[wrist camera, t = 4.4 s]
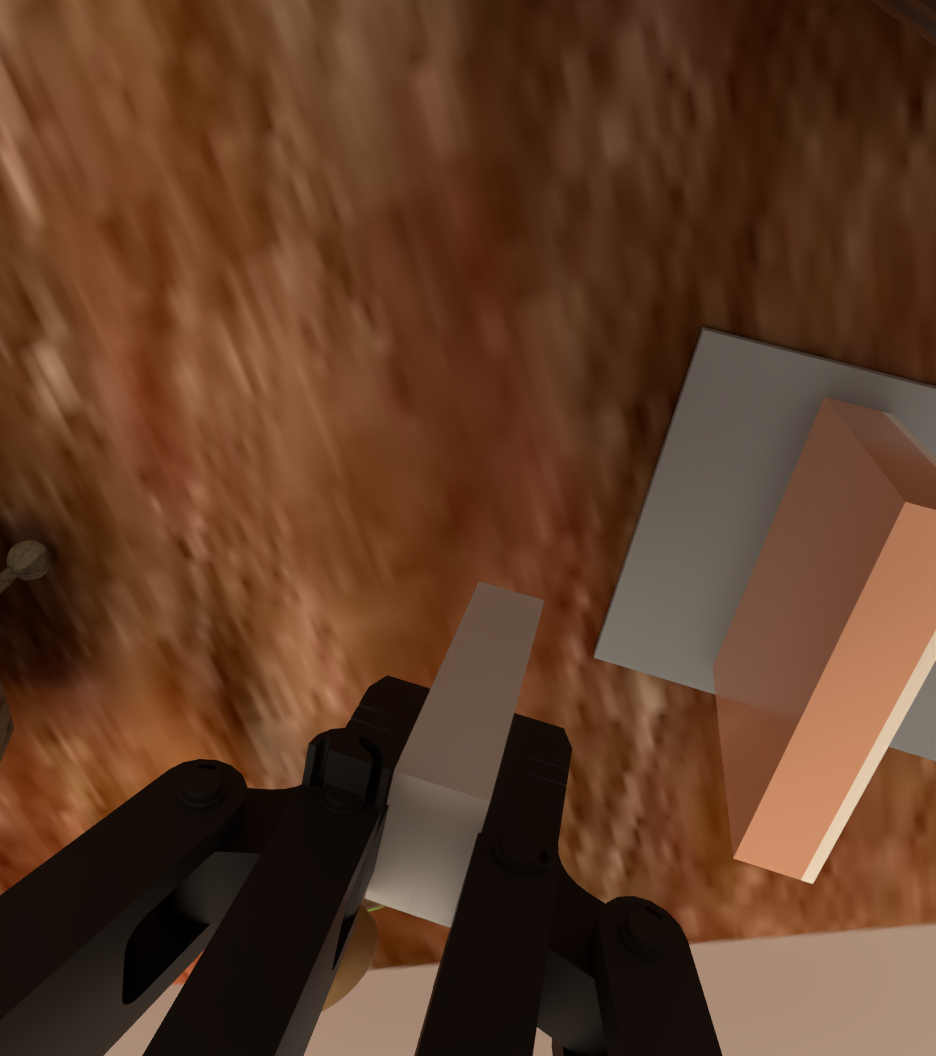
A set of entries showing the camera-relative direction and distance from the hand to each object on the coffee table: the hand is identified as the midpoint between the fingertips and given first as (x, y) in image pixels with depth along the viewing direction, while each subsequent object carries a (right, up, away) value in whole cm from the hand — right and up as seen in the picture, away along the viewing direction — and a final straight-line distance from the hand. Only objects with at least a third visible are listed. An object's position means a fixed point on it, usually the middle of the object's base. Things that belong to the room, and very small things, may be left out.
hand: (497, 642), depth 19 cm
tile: (+10, +2, +8) cm, 13 cm away
